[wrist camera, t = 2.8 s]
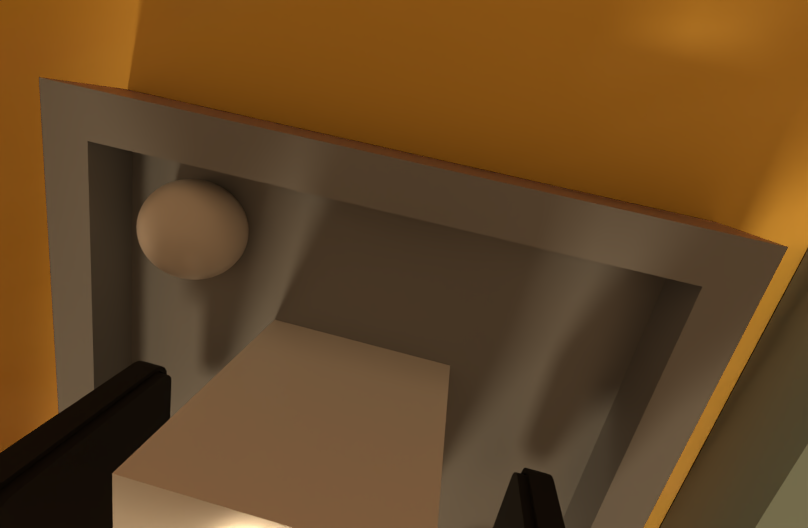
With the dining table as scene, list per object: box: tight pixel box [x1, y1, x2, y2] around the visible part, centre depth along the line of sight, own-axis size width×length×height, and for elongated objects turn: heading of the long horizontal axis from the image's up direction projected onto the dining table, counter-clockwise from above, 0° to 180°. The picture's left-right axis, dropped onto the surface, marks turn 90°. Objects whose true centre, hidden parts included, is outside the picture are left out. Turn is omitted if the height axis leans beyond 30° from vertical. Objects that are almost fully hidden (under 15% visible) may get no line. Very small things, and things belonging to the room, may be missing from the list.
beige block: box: [112, 320, 450, 528], centre depth 9 cm, size 5×4×5 cm
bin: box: [39, 77, 788, 528], centre depth 11 cm, size 14×14×3 cm
